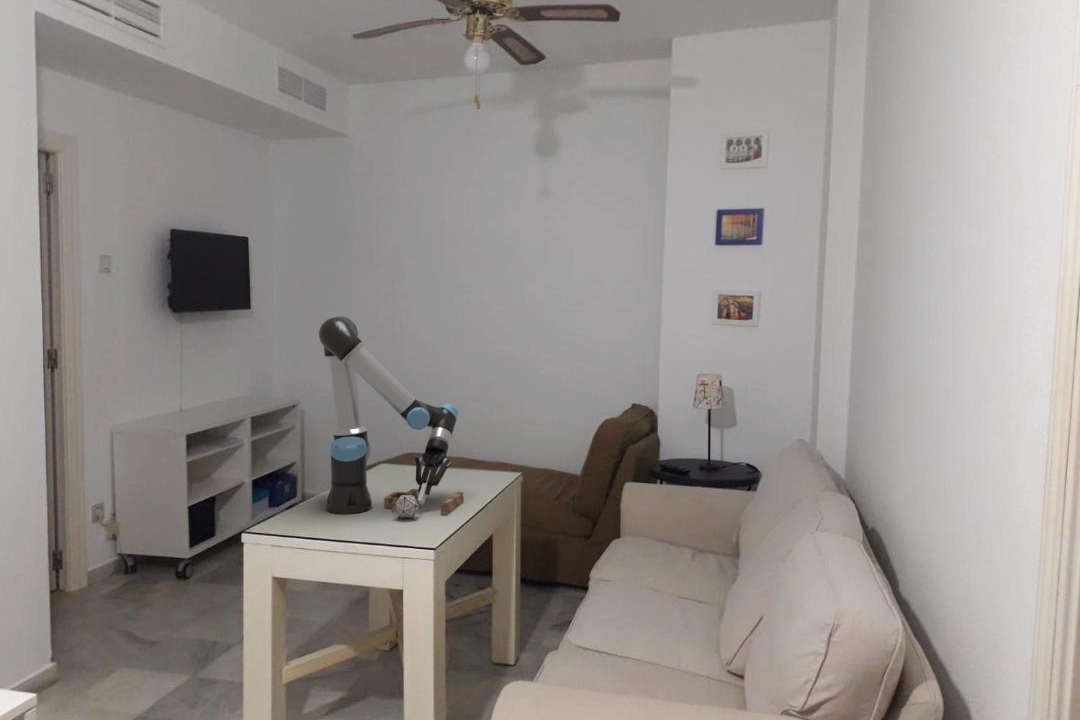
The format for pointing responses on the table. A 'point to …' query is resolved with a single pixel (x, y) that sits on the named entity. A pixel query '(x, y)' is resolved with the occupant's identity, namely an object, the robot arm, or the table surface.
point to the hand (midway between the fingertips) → (420, 502)
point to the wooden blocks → (393, 498)
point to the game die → (406, 506)
